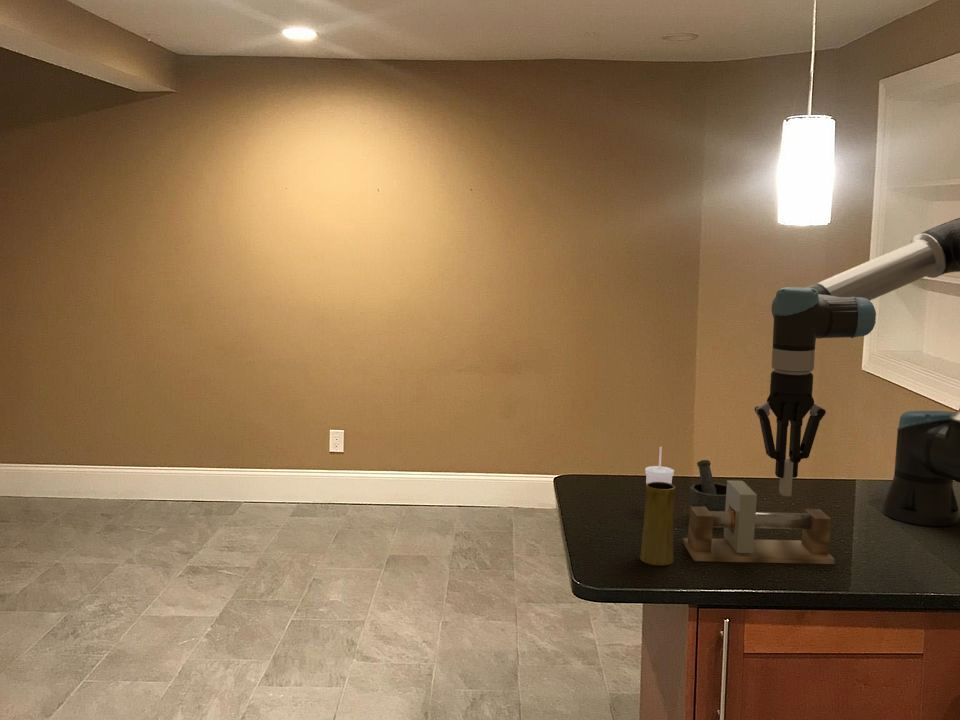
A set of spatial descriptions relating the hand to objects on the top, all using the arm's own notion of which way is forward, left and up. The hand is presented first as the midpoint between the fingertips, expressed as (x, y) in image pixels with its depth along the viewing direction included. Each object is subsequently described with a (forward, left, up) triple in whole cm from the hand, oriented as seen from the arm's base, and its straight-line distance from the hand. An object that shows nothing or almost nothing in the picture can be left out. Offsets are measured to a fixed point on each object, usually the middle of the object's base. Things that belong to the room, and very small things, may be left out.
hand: (785, 493), depth 186 cm
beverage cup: (+19, -25, -12) cm, 34 cm away
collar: (+9, +1, -10) cm, 13 cm away
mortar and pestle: (+9, -19, -12) cm, 24 cm away
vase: (+25, +6, -12) cm, 28 cm away
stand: (+5, +1, -12) cm, 13 cm away
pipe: (+5, +1, -7) cm, 8 cm away
